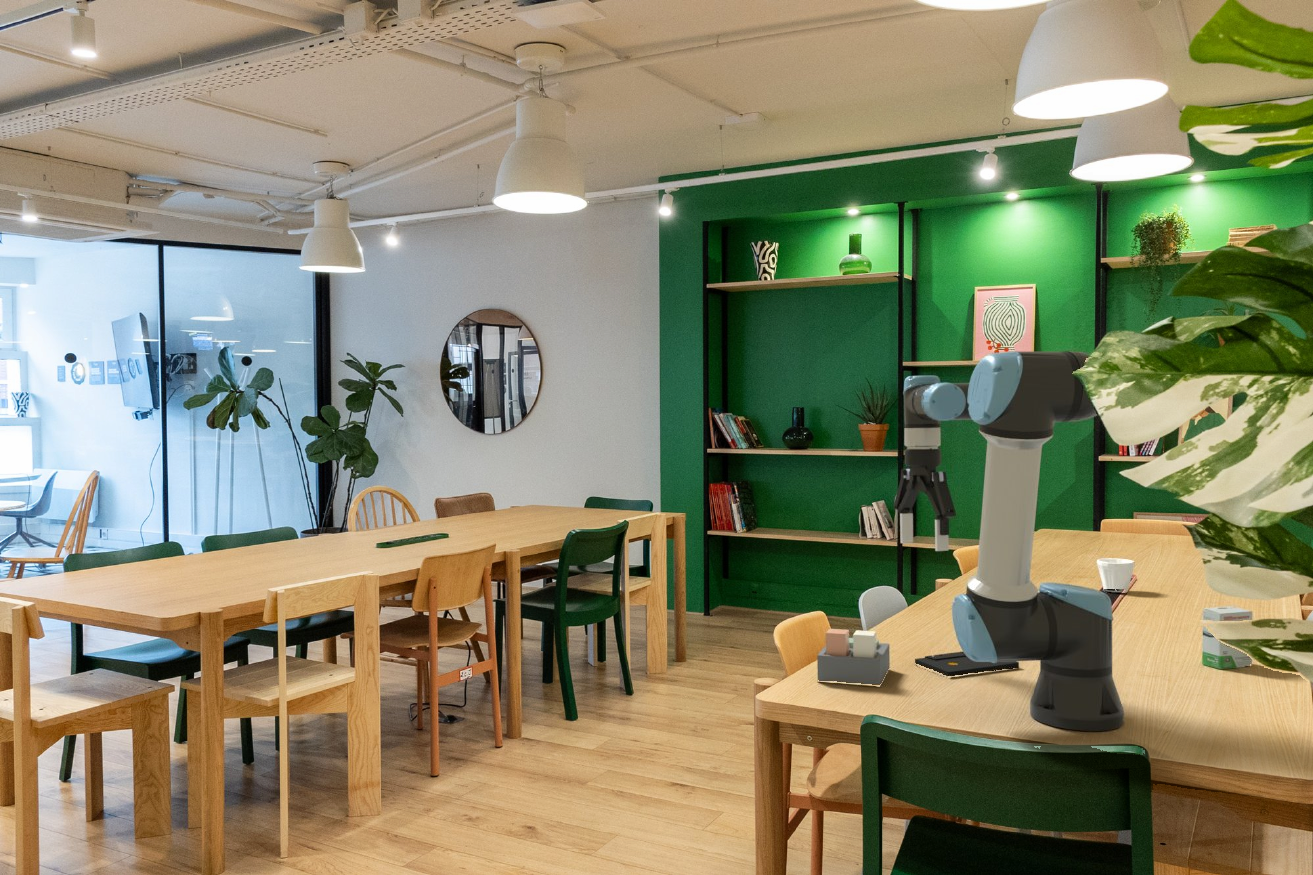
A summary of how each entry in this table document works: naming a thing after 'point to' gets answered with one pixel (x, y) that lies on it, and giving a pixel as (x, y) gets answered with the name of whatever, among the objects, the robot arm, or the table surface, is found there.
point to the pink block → (837, 642)
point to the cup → (1115, 572)
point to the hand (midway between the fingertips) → (923, 546)
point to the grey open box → (854, 666)
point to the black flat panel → (961, 664)
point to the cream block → (864, 644)
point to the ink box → (1217, 651)
